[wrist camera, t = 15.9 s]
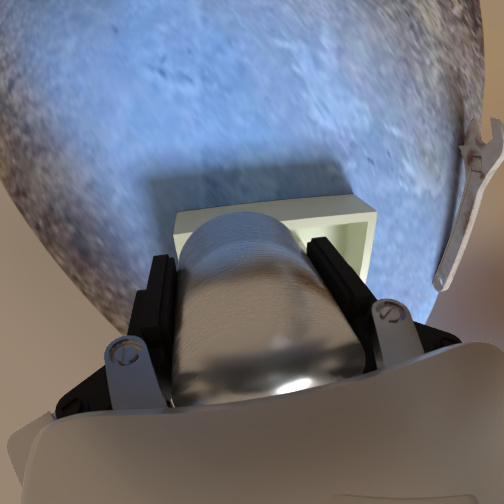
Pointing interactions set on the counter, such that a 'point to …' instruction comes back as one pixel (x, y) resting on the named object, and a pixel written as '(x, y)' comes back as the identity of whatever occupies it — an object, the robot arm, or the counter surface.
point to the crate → (304, 223)
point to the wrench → (470, 193)
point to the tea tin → (254, 316)
